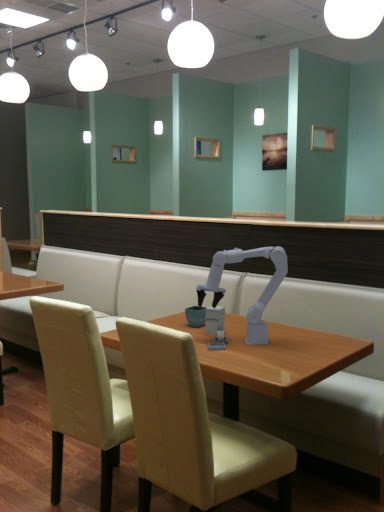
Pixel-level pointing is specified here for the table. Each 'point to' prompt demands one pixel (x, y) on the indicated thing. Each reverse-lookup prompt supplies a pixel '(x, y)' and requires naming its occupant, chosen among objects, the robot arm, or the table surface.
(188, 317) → the flower pot
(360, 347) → the table surface
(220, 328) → the fuse
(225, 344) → the socket
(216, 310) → the supplement box
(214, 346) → the tray
